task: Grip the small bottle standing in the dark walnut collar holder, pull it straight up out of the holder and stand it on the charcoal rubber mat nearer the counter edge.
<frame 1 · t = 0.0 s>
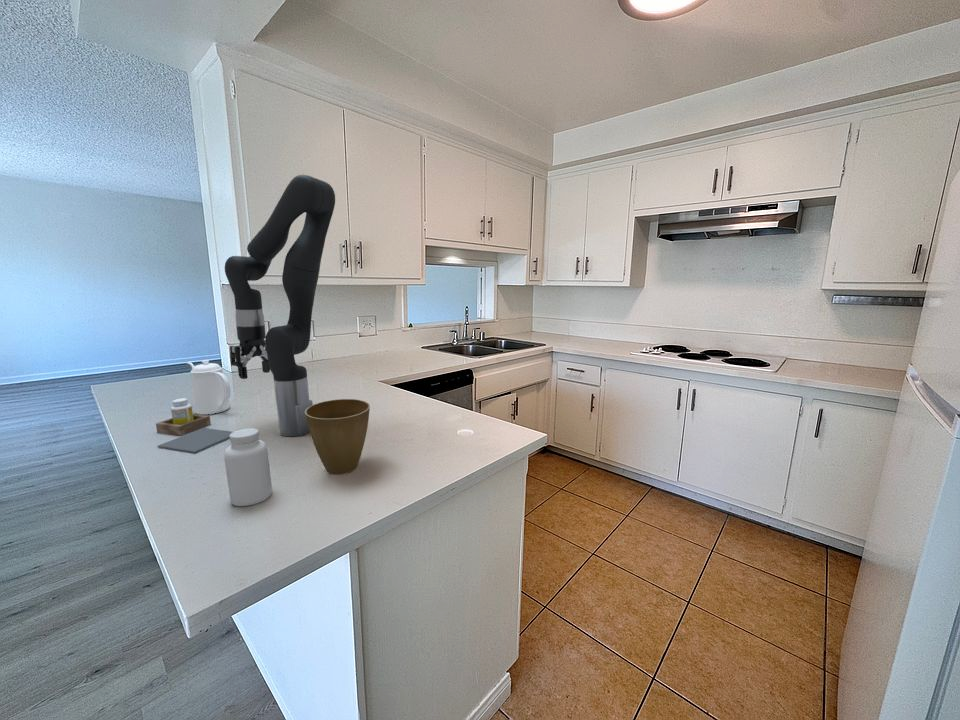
hand: (255, 375, 121), 17 cm above the countertop, tool pointing down, fingers open, 8 cm apart
plant pot: (343, 468, 98), on the countertop
supplement bottle: (184, 429, 124), resting in collar holder
rubber mat: (200, 440, 114), on the countertop
coffeepot: (212, 410, 141), on the countertop
collar holder: (184, 428, 124), on the countertop
pill bottle: (252, 497, 85), on the countertop
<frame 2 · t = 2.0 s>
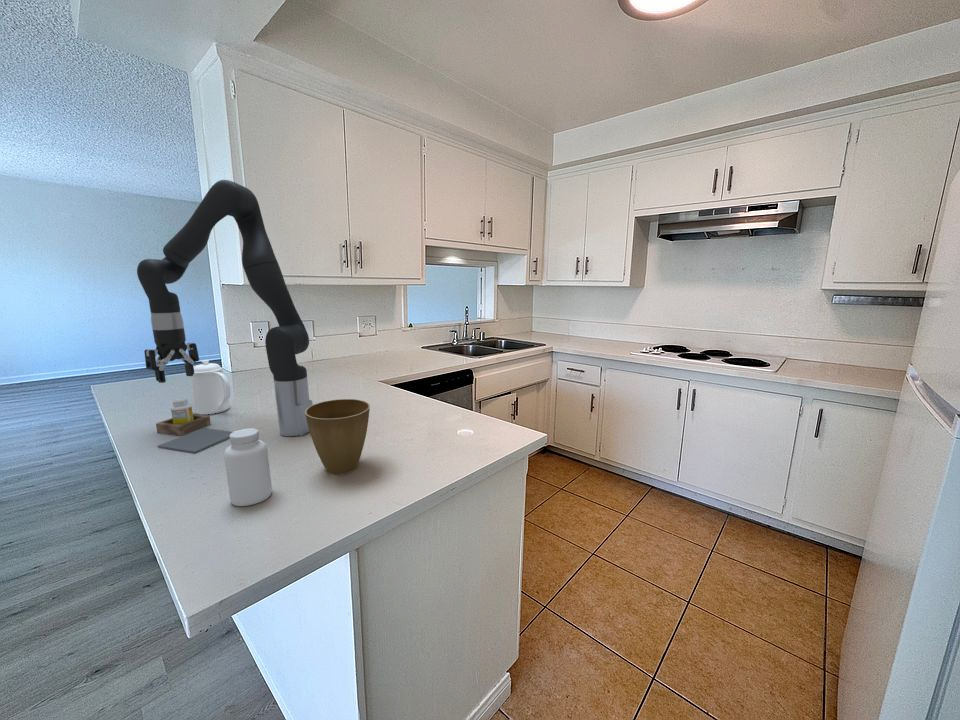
hand: (176, 379, 121), 16 cm above the countertop, tool pointing down, fingers open, 8 cm apart
nothing on the countertop moved.
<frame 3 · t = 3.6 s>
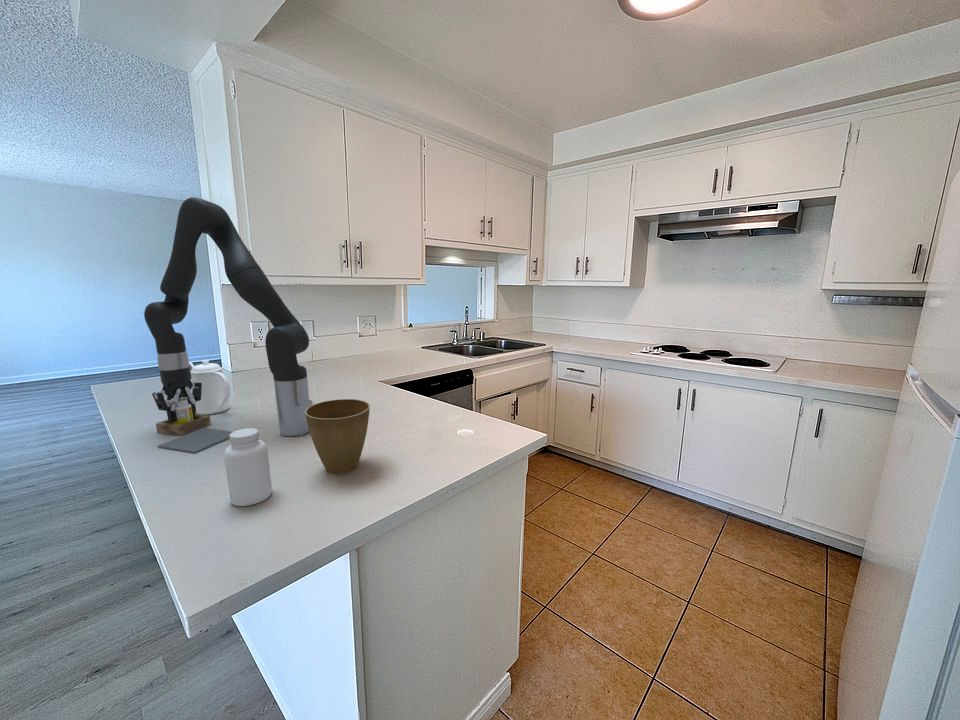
hand: (183, 418, 123), 3 cm above the countertop, tool pointing down, fingers closed on supplement bottle, 5 cm apart
supplement bottle: (184, 429, 124), resting in collar holder, touching gripper
everything else where it was.
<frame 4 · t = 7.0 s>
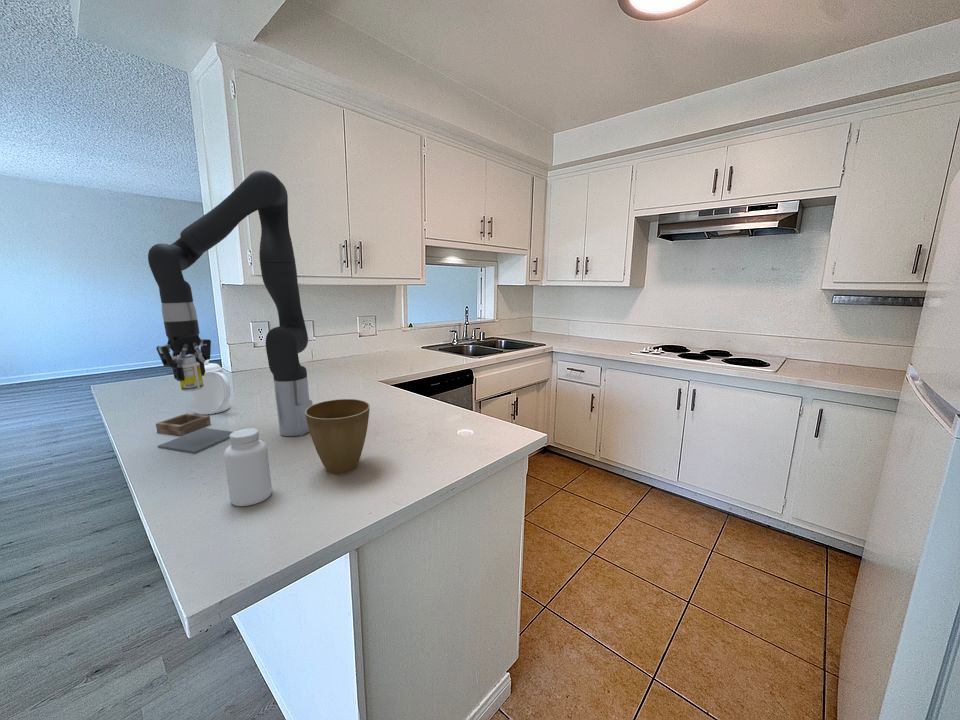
hand: (190, 377, 111), 19 cm above the countertop, tool pointing down, fingers closed on supplement bottle, 5 cm apart
supplement bottle: (192, 390, 112), point 15 cm above the countertop, touching gripper
everything else where it was.
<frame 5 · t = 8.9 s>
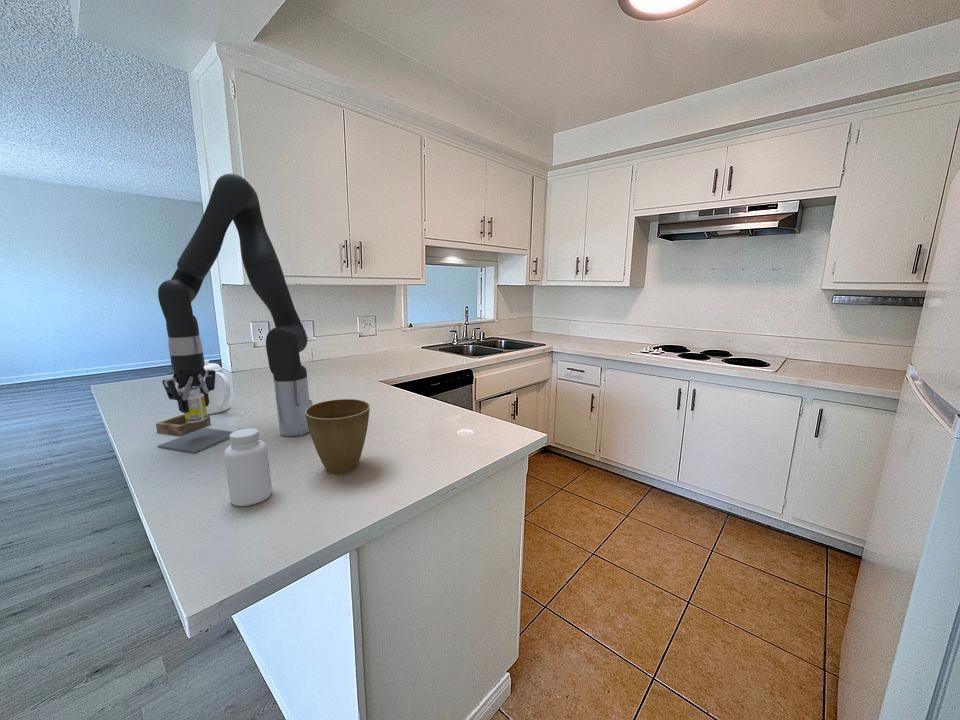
hand: (195, 408, 112), 10 cm above the countertop, tool pointing down, fingers closed on supplement bottle, 5 cm apart
supplement bottle: (196, 420, 113), point 6 cm above the countertop, touching gripper
everything else where it was.
when the fingers open (5 cm above the countertop, at t = 10.3 s): supplement bottle drops 1 cm, resting on rubber mat.
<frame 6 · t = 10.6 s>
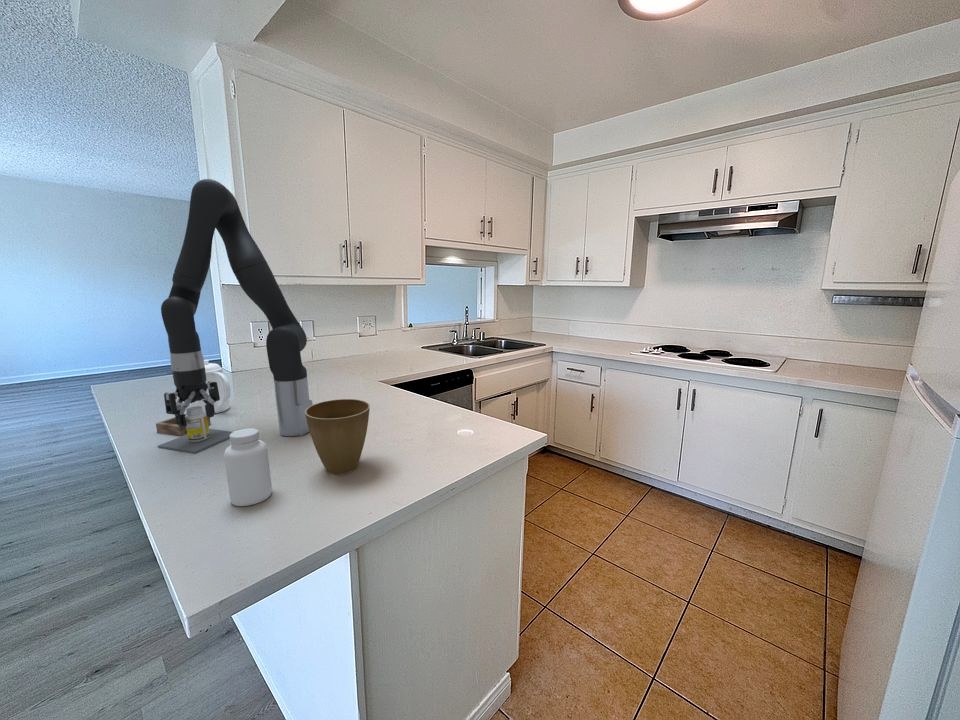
hand: (197, 421, 113), 6 cm above the countertop, tool pointing down, fingers open, 8 cm apart
supplement bottle: (199, 439, 114), resting on rubber mat
everything else where it was.
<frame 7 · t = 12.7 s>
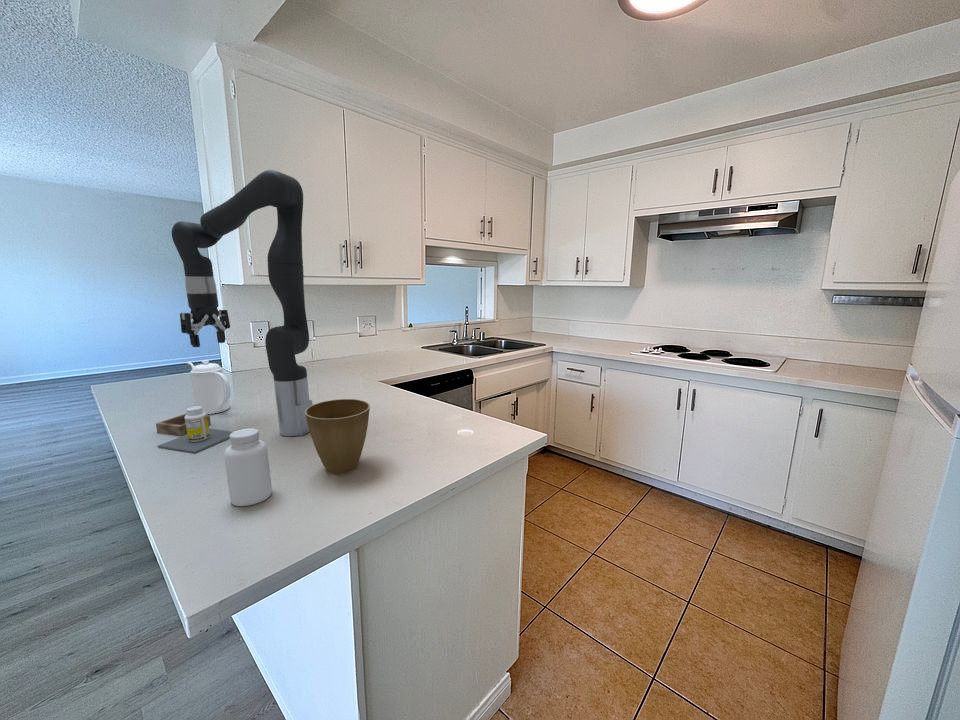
hand: (209, 344, 120), 27 cm above the countertop, tool pointing down, fingers open, 8 cm apart
nothing on the countertop moved.
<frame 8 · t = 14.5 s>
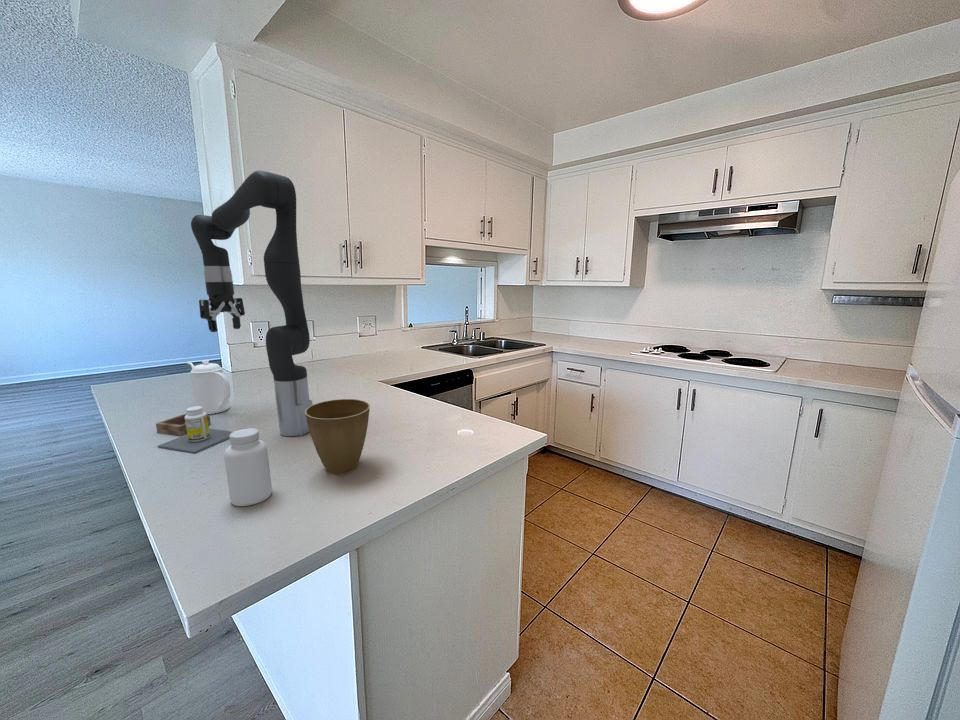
hand: (225, 330, 129), 30 cm above the countertop, tool pointing down, fingers open, 8 cm apart
nothing on the countertop moved.
at the end: supplement bottle inside the target area on the rubber mat (0.2 cm from its centre), point 0.4 cm above the rubber mat's base; supplement bottle tilted 0°; the gripper is holding nothing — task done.
